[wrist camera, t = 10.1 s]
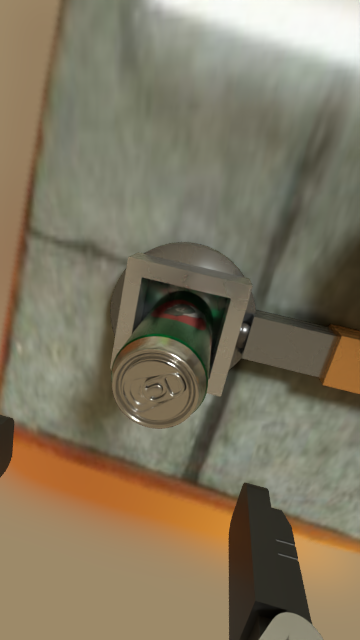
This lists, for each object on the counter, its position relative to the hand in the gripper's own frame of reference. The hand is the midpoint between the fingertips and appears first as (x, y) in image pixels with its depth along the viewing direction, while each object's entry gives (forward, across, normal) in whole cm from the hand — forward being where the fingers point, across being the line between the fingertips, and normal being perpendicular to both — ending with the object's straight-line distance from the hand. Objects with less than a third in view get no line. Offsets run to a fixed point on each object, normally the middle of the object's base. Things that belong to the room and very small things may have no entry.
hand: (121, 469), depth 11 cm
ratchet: (+19, -8, 0) cm, 20 cm away
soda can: (+18, 0, 0) cm, 18 cm away
